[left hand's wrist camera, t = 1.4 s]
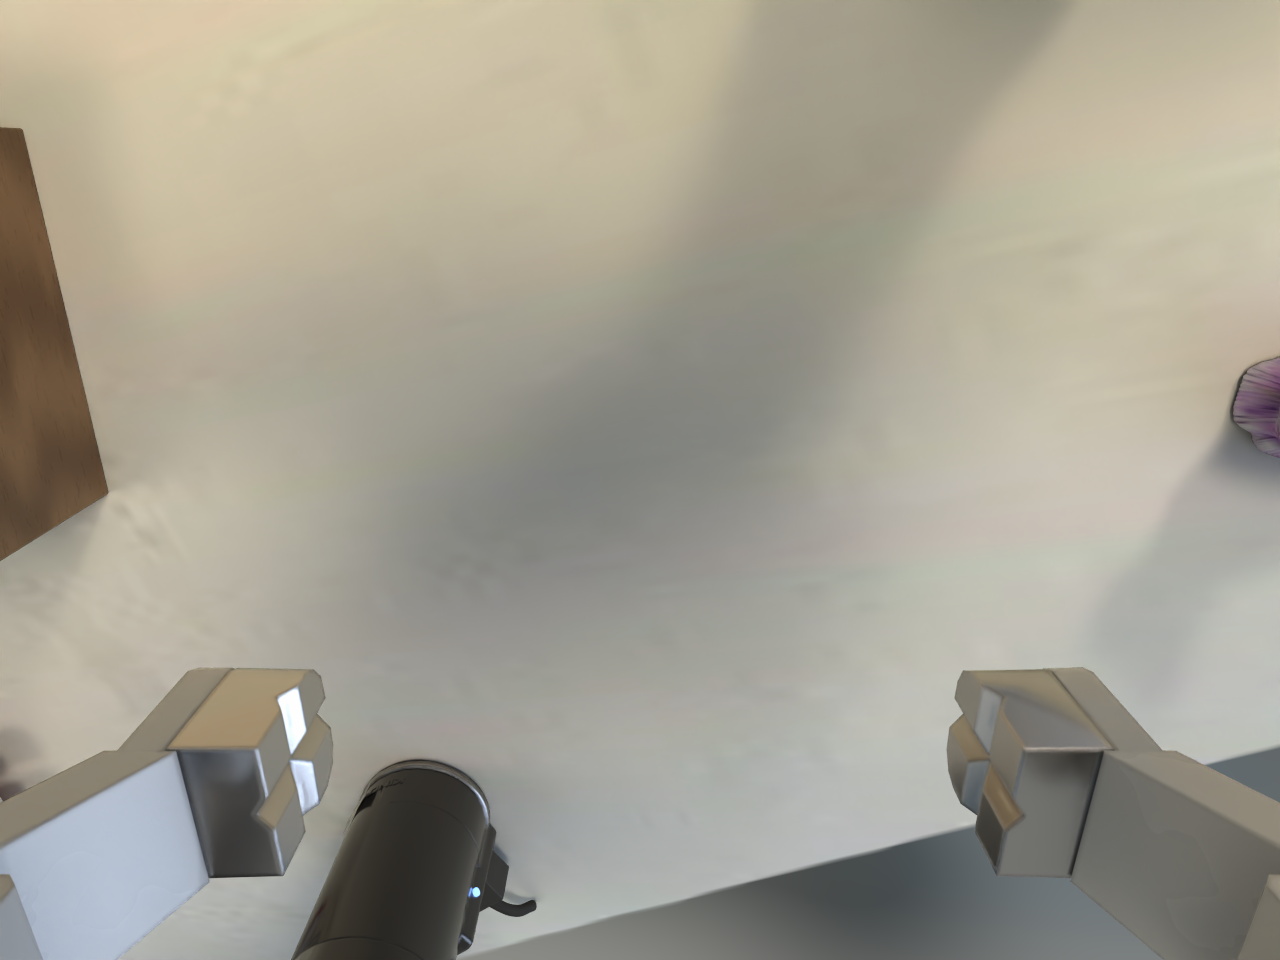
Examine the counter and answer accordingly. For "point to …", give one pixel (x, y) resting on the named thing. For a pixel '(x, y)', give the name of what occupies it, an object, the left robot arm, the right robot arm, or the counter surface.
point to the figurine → (1261, 405)
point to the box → (37, 373)
